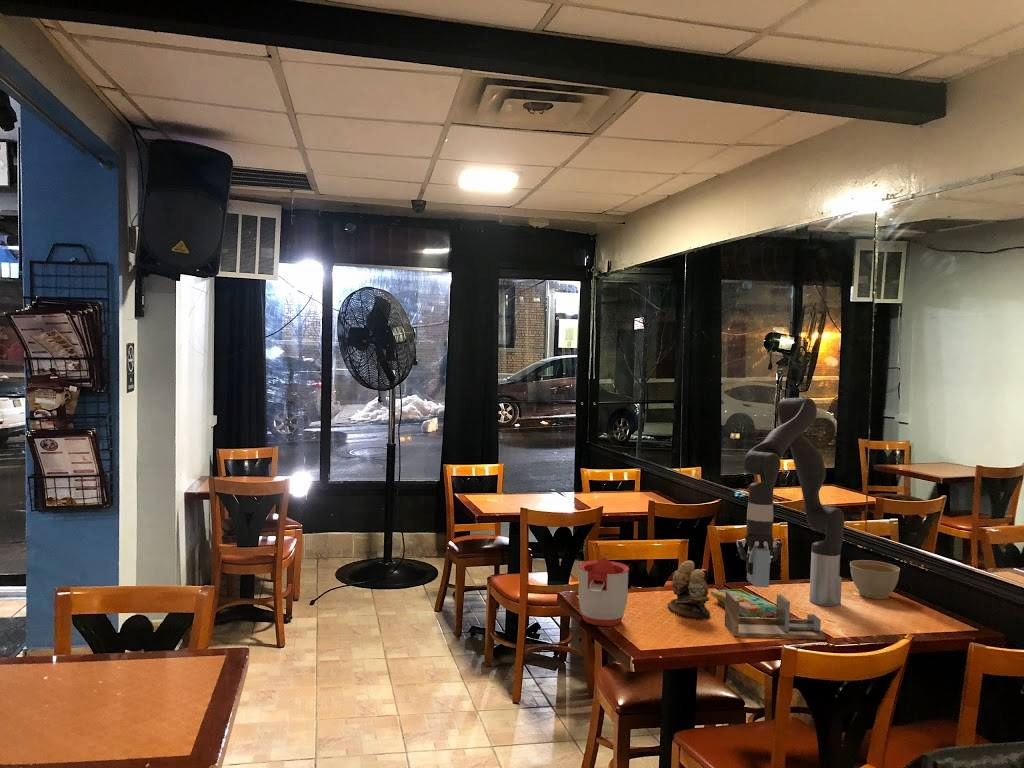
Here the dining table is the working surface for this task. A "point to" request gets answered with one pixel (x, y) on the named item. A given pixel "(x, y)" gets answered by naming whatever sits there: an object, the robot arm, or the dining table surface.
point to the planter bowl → (874, 578)
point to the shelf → (761, 624)
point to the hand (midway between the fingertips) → (757, 574)
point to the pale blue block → (760, 568)
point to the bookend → (783, 617)
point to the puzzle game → (747, 603)
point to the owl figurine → (689, 592)
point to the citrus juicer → (603, 591)
